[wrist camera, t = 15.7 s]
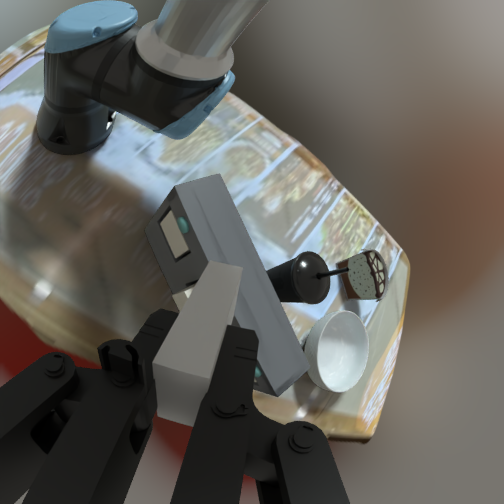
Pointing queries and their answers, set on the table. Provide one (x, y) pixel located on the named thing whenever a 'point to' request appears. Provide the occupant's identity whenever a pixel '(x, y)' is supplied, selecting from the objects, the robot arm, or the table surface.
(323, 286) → the drinking cup
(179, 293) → the key middle
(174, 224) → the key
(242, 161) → the table surface
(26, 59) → the table surface
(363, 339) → the cereal bowl
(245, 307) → the keypad
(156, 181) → the table surface
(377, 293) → the mint chip dessert
